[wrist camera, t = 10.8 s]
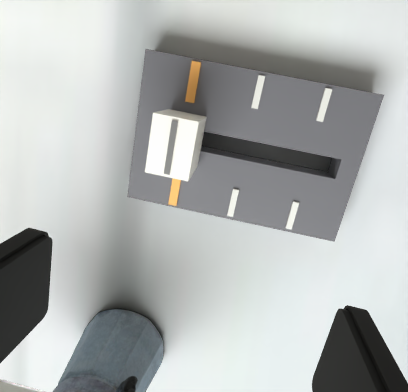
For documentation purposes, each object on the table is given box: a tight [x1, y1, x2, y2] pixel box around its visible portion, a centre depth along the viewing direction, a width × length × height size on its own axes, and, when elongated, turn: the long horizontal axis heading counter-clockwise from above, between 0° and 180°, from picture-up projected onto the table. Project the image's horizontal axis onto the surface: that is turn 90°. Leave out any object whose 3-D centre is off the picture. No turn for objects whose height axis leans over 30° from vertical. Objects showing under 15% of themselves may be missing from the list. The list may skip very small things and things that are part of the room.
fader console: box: [127, 49, 384, 241], centre depth 28 cm, size 12×18×3 cm, turn 79°
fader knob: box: [145, 109, 207, 181], centre depth 25 cm, size 4×3×7 cm
